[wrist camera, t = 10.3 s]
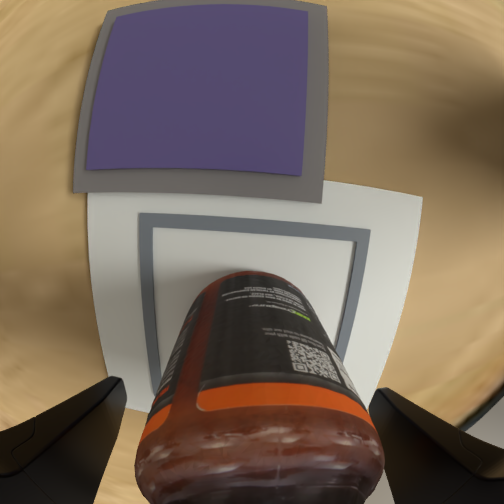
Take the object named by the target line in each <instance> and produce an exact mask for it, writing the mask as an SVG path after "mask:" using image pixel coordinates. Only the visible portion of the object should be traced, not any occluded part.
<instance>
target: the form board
mask: <svg viewBox="0 0 504 504" xmlns="http://www.w3.org/2000/svg"><path fill="white" fill-rule="evenodd" d="M422 201H423V197H420V196H415V195H410V194H405V193H400V192H395V191H390V190H384V189H378V188H373V187H367V186H361V185H354V184H348V183H341V182H334V181H326V180H324V183H323V194H322V204H319V203H310V202H300V201H290V200H278V199H267V198H254V197H240V196H224V195H205V194H181V193H137V192H102V193H88V247H89V262H90V274H91V283H92V292H93V300H94V307H95V314H96V320H97V326H98V331H99V336H100V342H101V346H102V351H103V356H104V360H105V364H106V368H107V372H108V376H116V377H120V378H122V379H123V381H124V385H125V389H126V393H127V403H126V406H125V408H129V409H133V410H138V411H142V412H147V413H150V410H151V406H152V403H153V401H154V398H155V396H156V393H157V390H158V387H159V385H160V382H161V379H162V376H163V373H164V371H165V369H166V366H167V363H168V361H169V358H170V356H171V352H172V351H173V348H174V345H175V343H176V341H177V338H178V335H179V332H180V330H181V327H182V325H183V323H184V320H185V318H186V315H187V313H188V311H189V309H190V307H191V305H192V304H193V302H194V300H195V299H196V297H197V296H198V295H199V293H200V292H201V291H202V290H203V289H204V288H205V287H207V286H208V285H209V284H211V283H212V282H214V281H216V280H217V279H219V278H221V277H224V276H226V275H229V274H232V273H236V272H241V271H262V272H267V273H271V274H275V275H277V276H279V277H282V278H284V279H286V280H287V281H289V282H291V283H292V284H293V285H295V286H296V287H297V288H299V289H300V290H301V292H302V293H303V294H304V295H305V297H306V298H307V300H308V301H309V302H310V304H311V305H312V307H313V309H314V311H315V313H316V315H317V316H318V318H319V320H320V322H321V324H322V326H323V328H324V330H325V331H326V333H327V335H328V337H329V339H330V341H331V343H332V344H333V346H334V348H335V350H336V352H337V354H338V355H339V357H340V359H341V361H342V363H343V366H344V367H345V369H346V371H347V373H348V375H349V377H350V379H351V381H352V383H353V385H354V387H355V389H356V391H357V392H358V394H359V396H360V398H361V400H362V402H363V404H364V405H365V407H366V410H367V408H368V406H369V403H370V401H371V399H372V396H373V394H374V392H375V389H376V387H377V384H378V382H379V379H380V377H381V374H382V372H383V369H384V366H385V363H386V361H387V358H388V355H389V352H390V349H391V346H392V343H393V340H394V337H395V334H396V330H397V327H398V324H399V320H400V317H401V313H402V310H403V306H404V302H405V298H406V294H407V290H408V286H409V281H410V277H411V272H412V267H413V262H414V257H415V251H416V246H417V240H418V233H419V226H420V219H421V210H422Z"/></svg>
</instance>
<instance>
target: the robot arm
mask: <svg viewBox="0 0 504 504" xmlns="http://www.w3.org/2000/svg"><path fill="white" fill-rule="evenodd" d="M126 403H127V393H126V389H125V385H124V381H123V379H122V378H120V377H116V376H109V377H107V378H106V379H104V380H102V381H100V382H98V383H97V384H95V385H93V386H91V387H89V388H88V389H86V390H84V391H82V392H80V393H78V394H77V395H75V396H73V397H71V398H69V399H67V400H66V401H64V402H62V403H60V404H58V405H56V406H54V407H52V408H50V409H49V410H47V411H45V412H43V413H41V414H39V415H37V416H36V417H33V418H31V419H29V420H27V421H25V422H23V423H21V424H18V425H16V426H14V427H11V428H9V429H6V430H3V431H0V504H93V503H94V500H95V497H96V494H97V491H98V488H99V485H100V482H101V479H102V477H103V474H104V471H105V468H106V466H107V463H108V460H109V458H110V455H111V452H112V450H113V447H114V445H115V442H116V439H117V437H118V433H119V429H120V425H121V421H122V418H123V414H124V410H125V406H126ZM369 415H370V417H371V421H372V423H373V425H374V427H375V429H376V431H377V433H378V435H379V438H380V441H381V444H382V447H383V451H384V457H385V464H384V470H385V473H386V476H387V479H388V482H389V486H390V489H391V492H392V495H393V498H394V502H395V504H504V449H502V448H500V447H497V446H494V445H492V444H489V443H487V442H484V441H482V440H480V439H477V438H475V437H473V436H471V435H469V434H467V433H465V432H464V431H462V430H459V429H458V428H456V427H454V426H453V425H451V424H449V423H447V422H446V421H444V420H442V419H440V418H438V417H437V416H435V415H433V414H431V413H430V412H428V411H426V410H425V409H423V408H421V407H419V406H418V405H416V404H414V403H413V402H411V401H409V400H408V399H406V398H404V397H403V396H401V395H399V394H398V393H396V392H394V391H393V390H391V389H389V388H387V387H385V388H378V389H376V391H375V392H374V395H373V397H372V400H371V402H370V404H369Z"/></svg>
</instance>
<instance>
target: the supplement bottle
mask: <svg viewBox="0 0 504 504" xmlns="http://www.w3.org/2000/svg"><path fill="white" fill-rule="evenodd" d="M384 464H385V457H384V451H383V447H382V444H381V441H380V438H379V435H378V433H377V431H376V429H375V427H374V425H373V423H372V421H371V417H370V416H369V414H368V412H367V410H366V407H365V405H364V404H363V402H362V400H361V398H360V396H359V394H358V392H357V391H356V389H355V387H354V385H353V383H352V381H351V379H350V377H349V375H348V373H347V371H346V369H345V367H344V366H343V363H342V361H341V359H340V357H339V355H338V354H337V352H336V350H335V348H334V346H333V344H332V343H331V341H330V339H329V337H328V335H327V333H326V331H325V330H324V328H323V326H322V324H321V322H320V320H319V318H318V316H317V315H316V313H315V311H314V309H313V307H312V305H311V304H310V302H309V301H308V300H307V298H306V297H305V295H304V294H303V293H302V292H301V290H300V289H299V288H297V287H296V286H295V285H293V284H292V283H291V282H289V281H287V280H286V279H284V278H282V277H279V276H277V275H275V274H271V273H267V272H262V271H241V272H236V273H232V274H229V275H226V276H224V277H221V278H219V279H217V280H216V281H214V282H212V283H211V284H209V285H208V286H207V287H205V288H204V289H203V290H202V291H201V292H200V293H199V295H198V296H197V297H196V299H195V300H194V302H193V304H192V305H191V307H190V309H189V311H188V313H187V315H186V318H185V320H184V323H183V325H182V327H181V330H180V332H179V335H178V338H177V341H176V343H175V345H174V348H173V351H172V352H171V356H170V358H169V361H168V363H167V366H166V369H165V371H164V373H163V376H162V379H161V382H160V385H159V387H158V390H157V393H156V396H155V398H154V401H153V403H152V406H151V410H150V413H149V414H148V418H147V422H146V425H145V429H144V431H143V433H142V436H141V439H140V442H139V446H138V449H137V454H136V460H135V465H134V466H135V477H136V481H137V485H138V487H139V489H140V491H141V493H142V495H143V496H144V497H145V498H146V499H147V500H148V502H149V503H150V504H364V502H365V500H366V499H367V498H368V496H370V495H371V494H372V492H373V491H374V490H375V487H376V486H377V484H378V482H379V480H380V478H381V476H382V473H383V469H384Z"/></svg>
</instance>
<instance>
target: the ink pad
mask: <svg viewBox="0 0 504 504" xmlns="http://www.w3.org/2000/svg"><path fill="white" fill-rule="evenodd" d="M327 117H328V20H327V6H323V5H318V4H313V3H308V2H302V1H295V0H158V1H151V2H145V3H140V4H135V5H130V6H126V7H121V8H117V9H113V10H109V11H108V12H107V14H106V17H105V19H104V22H103V25H102V28H101V31H100V34H99V37H98V40H97V43H96V47H95V50H94V53H93V57H92V61H91V65H90V68H89V72H88V77H87V81H86V86H85V90H84V95H83V101H82V106H81V112H80V118H79V125H78V133H77V141H76V151H75V163H74V179H73V193H102V192H137V193H181V194H205V195H224V196H240V197H254V198H267V199H278V200H290V201H300V202H310V203H319V204H322V194H323V183H324V170H325V156H326V139H327Z"/></svg>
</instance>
